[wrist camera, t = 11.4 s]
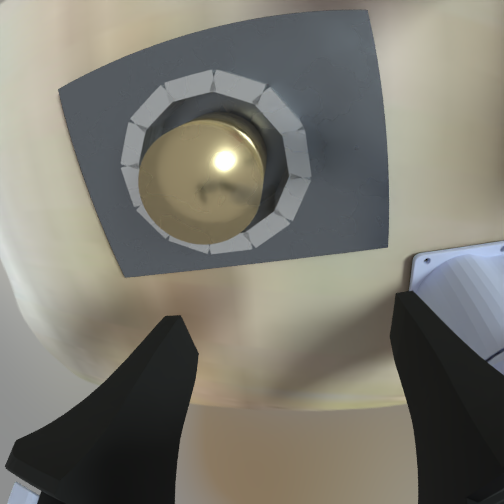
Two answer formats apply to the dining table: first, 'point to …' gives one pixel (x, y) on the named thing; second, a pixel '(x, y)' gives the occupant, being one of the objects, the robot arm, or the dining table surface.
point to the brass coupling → (204, 178)
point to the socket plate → (263, 119)
